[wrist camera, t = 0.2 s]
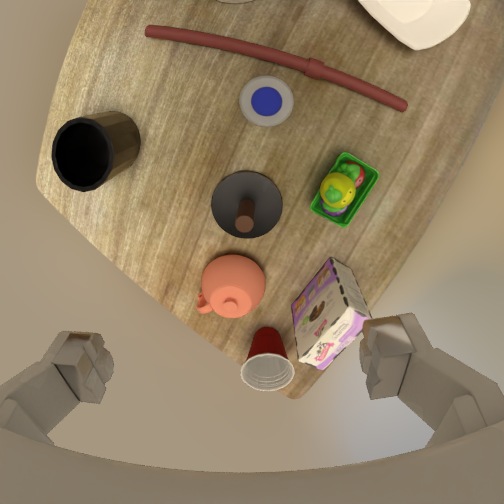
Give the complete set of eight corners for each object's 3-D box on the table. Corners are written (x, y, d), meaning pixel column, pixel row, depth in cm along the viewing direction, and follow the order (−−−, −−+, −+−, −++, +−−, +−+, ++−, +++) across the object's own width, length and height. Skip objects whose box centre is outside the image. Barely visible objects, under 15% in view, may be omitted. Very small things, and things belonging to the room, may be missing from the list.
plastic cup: (293, 317, 69) (297, 356, 58) (289, 352, 74) (292, 391, 63) (242, 316, 69) (239, 356, 58) (243, 351, 74) (240, 390, 63)
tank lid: (207, 174, 55) (197, 189, 47) (279, 167, 54) (282, 181, 46) (217, 238, 60) (210, 262, 52) (284, 232, 60) (287, 256, 51)
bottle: (236, 103, 49) (222, 108, 31) (261, 72, 46) (260, 59, 29) (269, 127, 51) (273, 145, 33) (294, 96, 48) (312, 97, 30)
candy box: (312, 315, 68) (322, 372, 54) (290, 304, 67) (296, 361, 53) (352, 268, 63) (375, 321, 48) (330, 255, 61) (348, 307, 47)
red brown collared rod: (404, 98, 47) (411, 99, 44) (398, 114, 48) (406, 115, 45) (152, 24, 42) (146, 20, 39) (147, 40, 43) (141, 37, 41)
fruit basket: (339, 218, 58) (355, 246, 48) (298, 196, 56) (306, 220, 46) (372, 166, 53) (395, 184, 43) (330, 141, 51) (346, 153, 41)
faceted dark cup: (80, 119, 50) (45, 128, 40) (135, 104, 49) (106, 109, 39) (92, 177, 55) (61, 196, 45) (145, 166, 54) (120, 184, 44)
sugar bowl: (275, 289, 65) (276, 321, 56) (214, 311, 68) (208, 343, 59) (248, 239, 60) (246, 267, 51) (185, 266, 63) (173, 295, 54)
